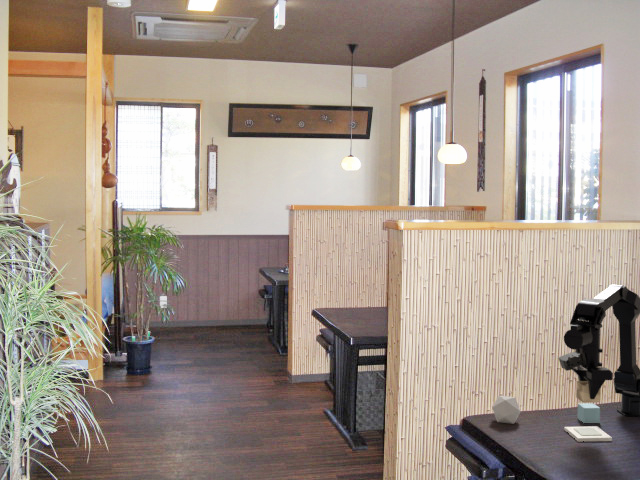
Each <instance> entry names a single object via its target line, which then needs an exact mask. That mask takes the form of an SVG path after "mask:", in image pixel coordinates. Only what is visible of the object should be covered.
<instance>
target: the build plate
mask: <svg viewBox="0 0 640 480" xmlns="http://www.w3.org/2000/svg"><path fill="white" fill-rule="evenodd" d="M563 429H564V431H565V432H566V433H567V432H568V433H569V436H570V437H572V438H573V439H574V438H575V439H574V440H576V441H577V442H579V443H580V442H582V443H583V441H584V442H612V441H613V437H612V436H611V435H609V434H608V433H607V432H605V431H603V429H601V428H600V427H599V426H597V425H594V426H593V425H591V426H584V425H583V426H564V428H563ZM568 433H567V434H568Z"/></svg>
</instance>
